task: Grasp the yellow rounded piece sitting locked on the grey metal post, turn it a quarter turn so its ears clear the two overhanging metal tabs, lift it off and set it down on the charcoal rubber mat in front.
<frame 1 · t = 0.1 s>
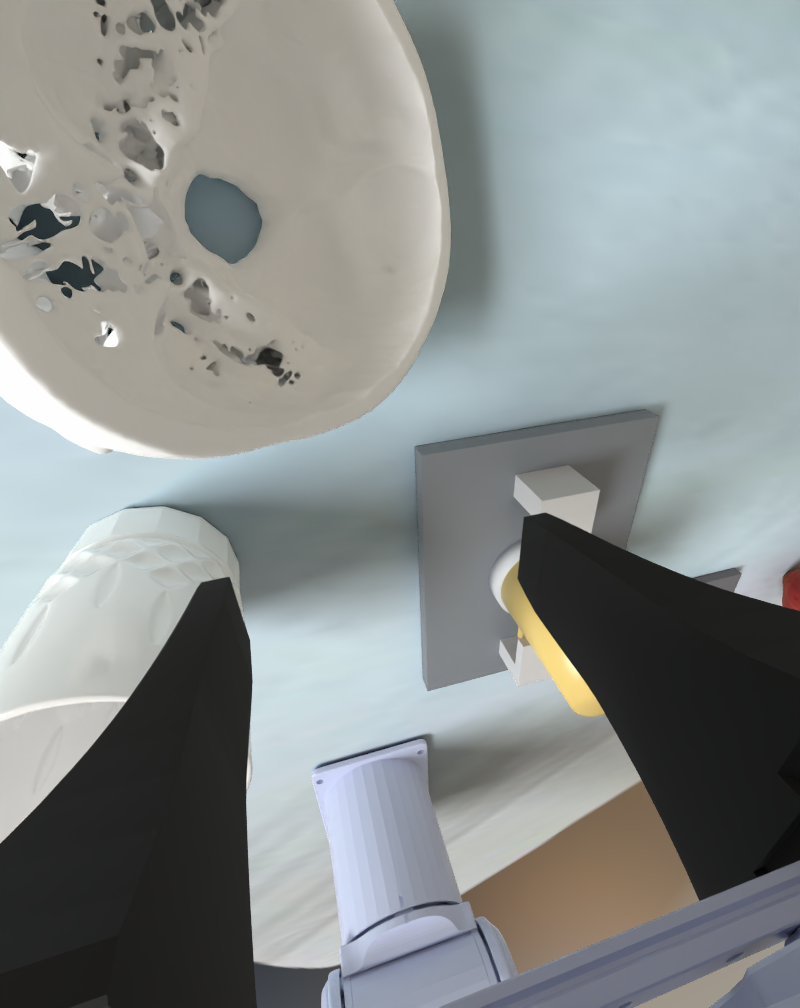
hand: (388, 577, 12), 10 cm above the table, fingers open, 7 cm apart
white cup: (160, 566, 21), on the table
post base: (521, 559, 27), on the table
skull bowl: (195, 224, 15), on the table
mat: (662, 629, 34), on the table
yellow rounded piece: (538, 581, 25), point 2 cm above the table, touching post base
onion: (784, 572, 35), on the table
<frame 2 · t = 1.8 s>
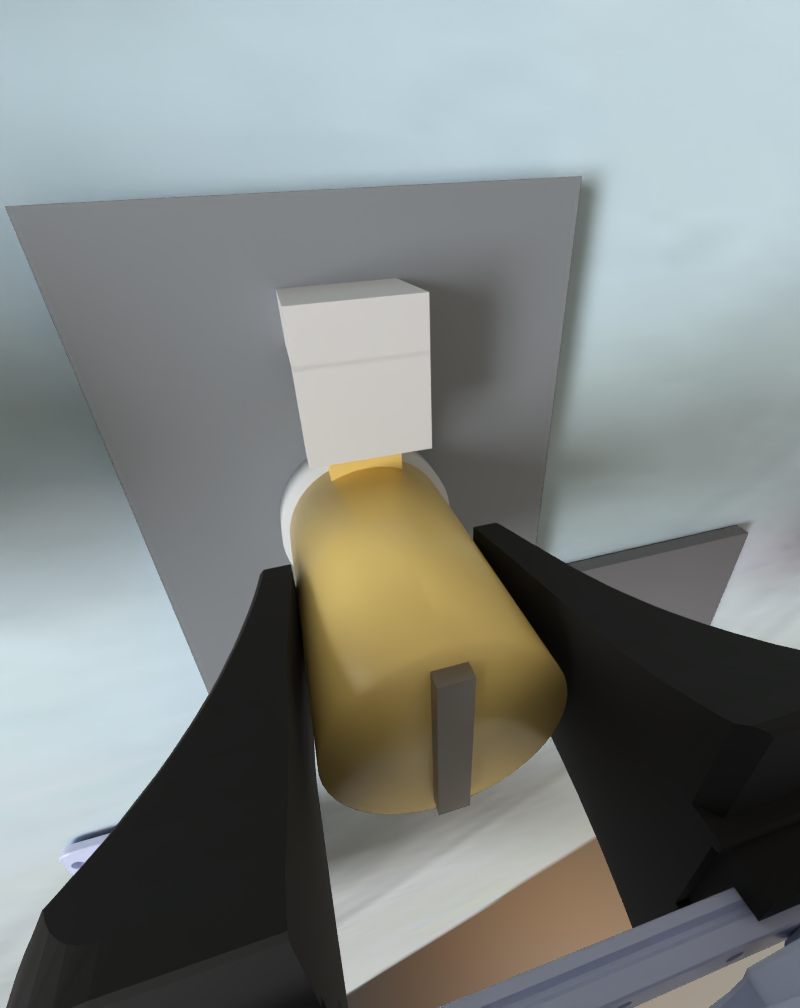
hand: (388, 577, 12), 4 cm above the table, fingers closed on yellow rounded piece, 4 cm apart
post base: (356, 493, 15), on the table
mat: (626, 621, 22), on the table
yellow rounded piece: (369, 528, 13), point 2 cm above the table, touching gripper, post base
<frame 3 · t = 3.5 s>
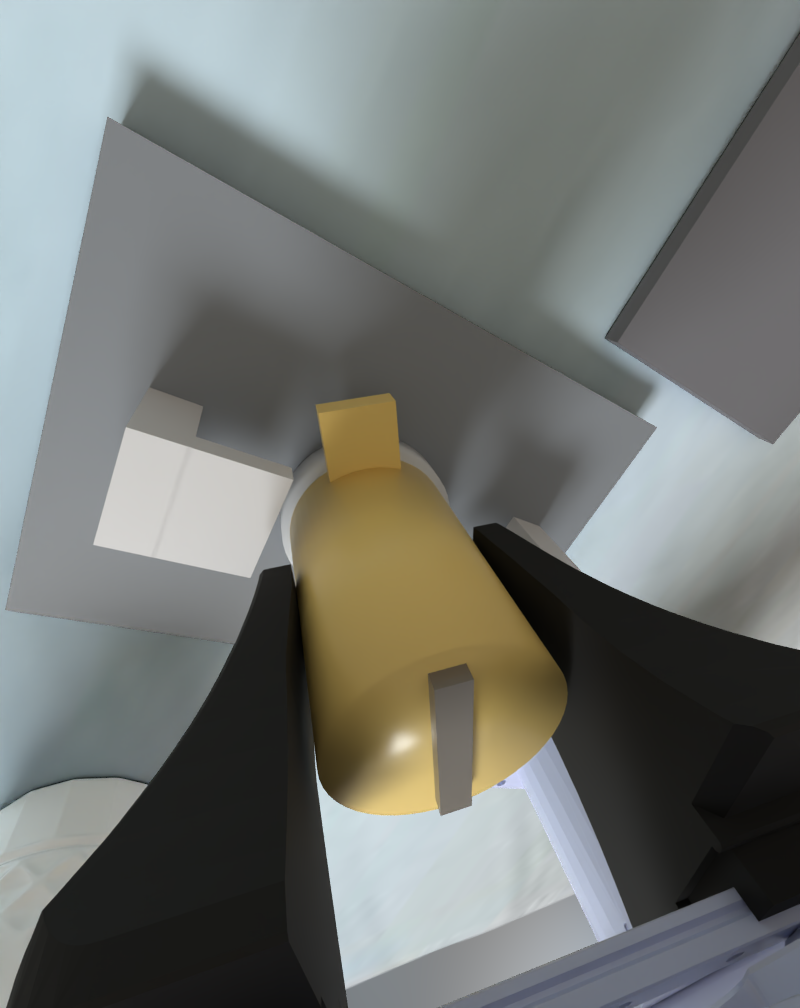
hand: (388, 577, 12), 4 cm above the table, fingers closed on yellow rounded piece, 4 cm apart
white cup: (90, 819, 20), on the table
post base: (356, 493, 15), on the table
mat: (786, 264, 15), on the table
yellow rounded piece: (369, 528, 13), point 2 cm above the table, touching gripper
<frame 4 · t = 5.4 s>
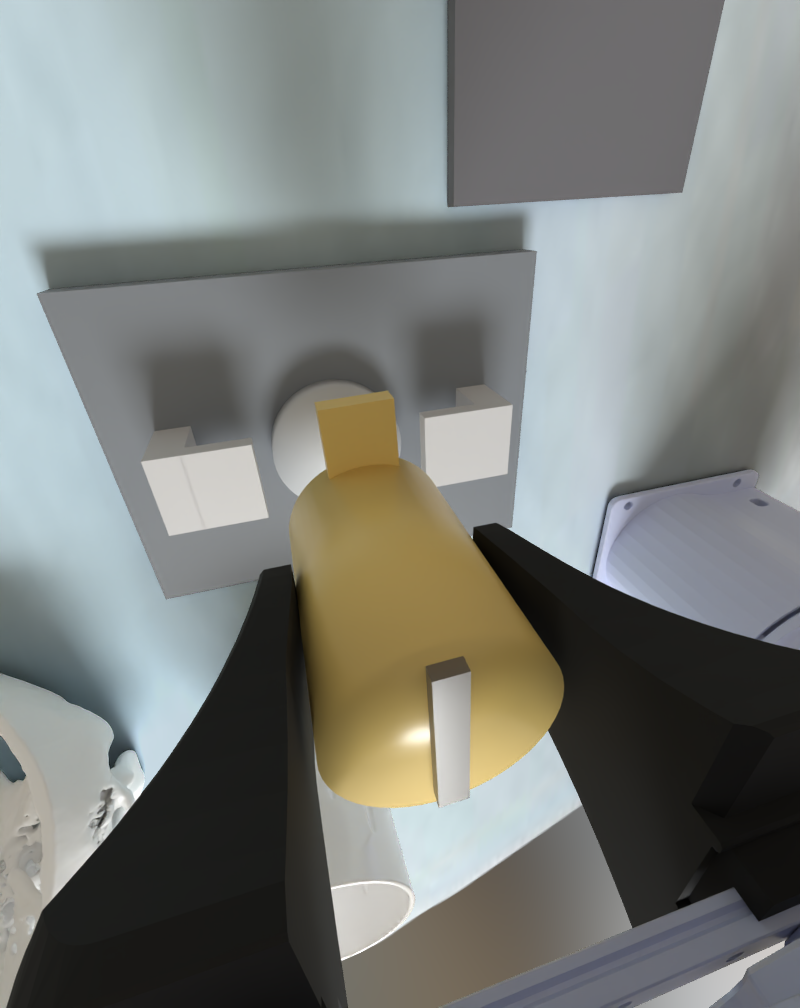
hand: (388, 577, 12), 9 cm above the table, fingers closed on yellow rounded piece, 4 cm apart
white cup: (303, 719, 28), on the table
post base: (331, 430, 19), on the table
skull bowl: (34, 737, 24), on the table
mat: (583, 28, 15), on the table
yellow rounded piece: (368, 525, 13), point 7 cm above the table, touching gripper
when the fingers open (3 cm above the table, at t = 8.3 s): yellow rounded piece stays where it is, resting on mat.
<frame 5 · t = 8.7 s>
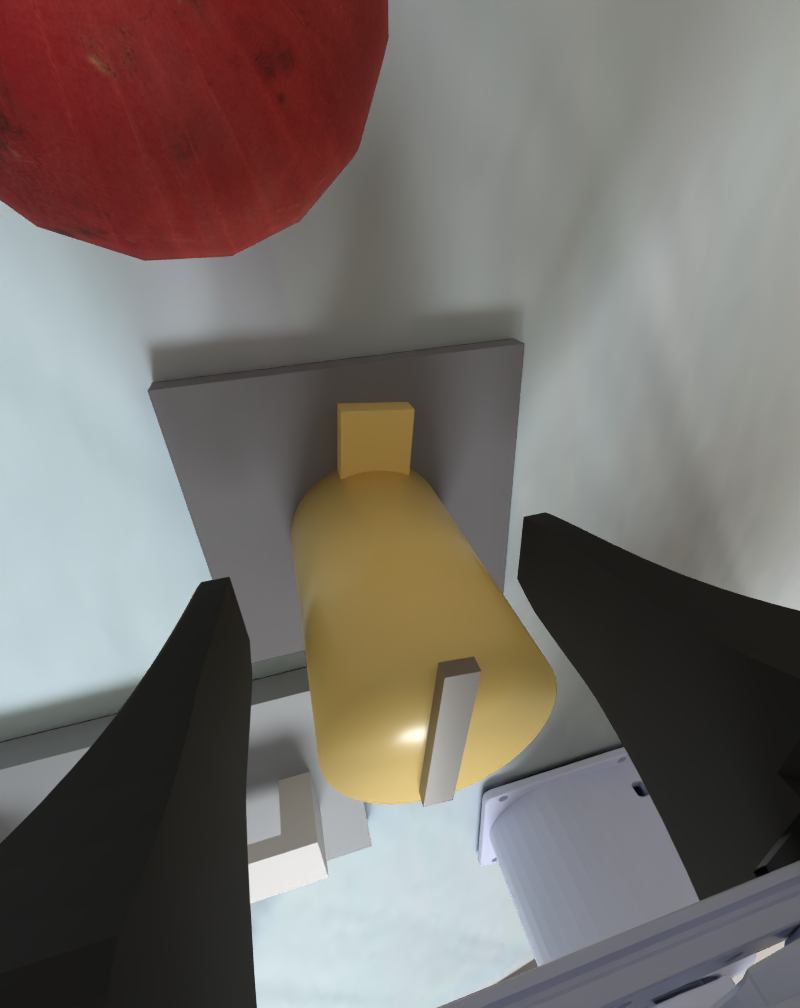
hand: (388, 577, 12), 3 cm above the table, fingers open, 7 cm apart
post base: (154, 812, 19), on the table
mat: (363, 511, 14), on the table
yellow rounded piece: (368, 529, 14), point 1 cm above the table, touching mat
onion: (172, 63, 9), on the table
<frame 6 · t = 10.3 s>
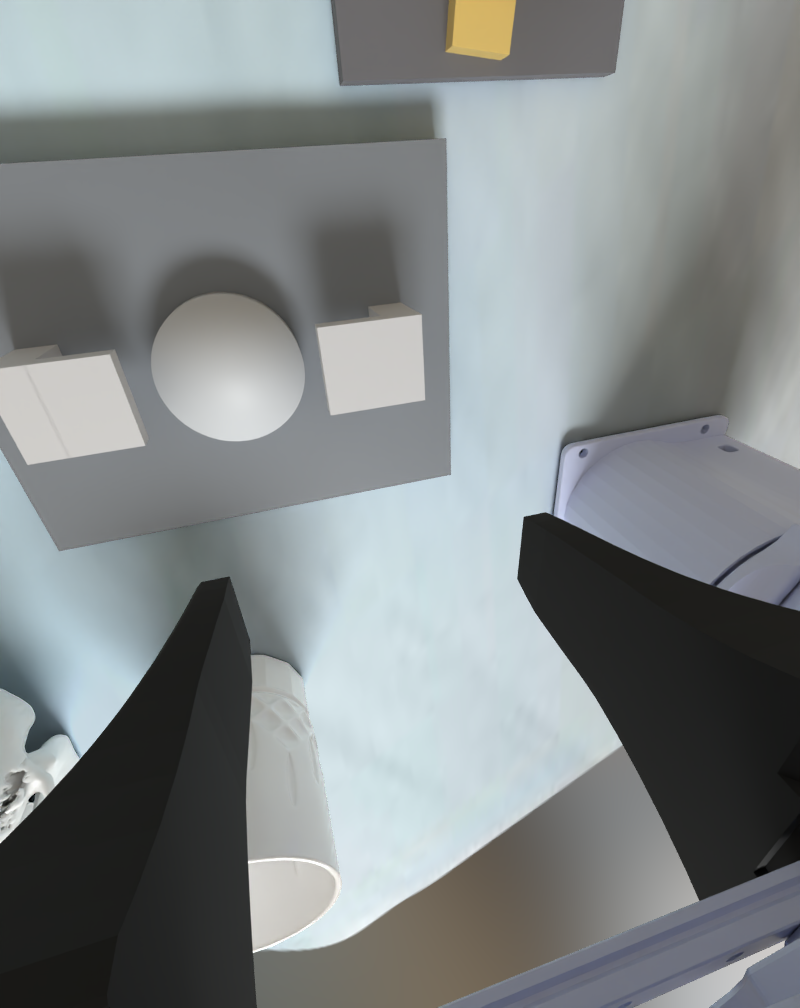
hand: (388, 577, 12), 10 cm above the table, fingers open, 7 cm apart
white cup: (242, 692, 26), on the table
post base: (233, 359, 17), on the table
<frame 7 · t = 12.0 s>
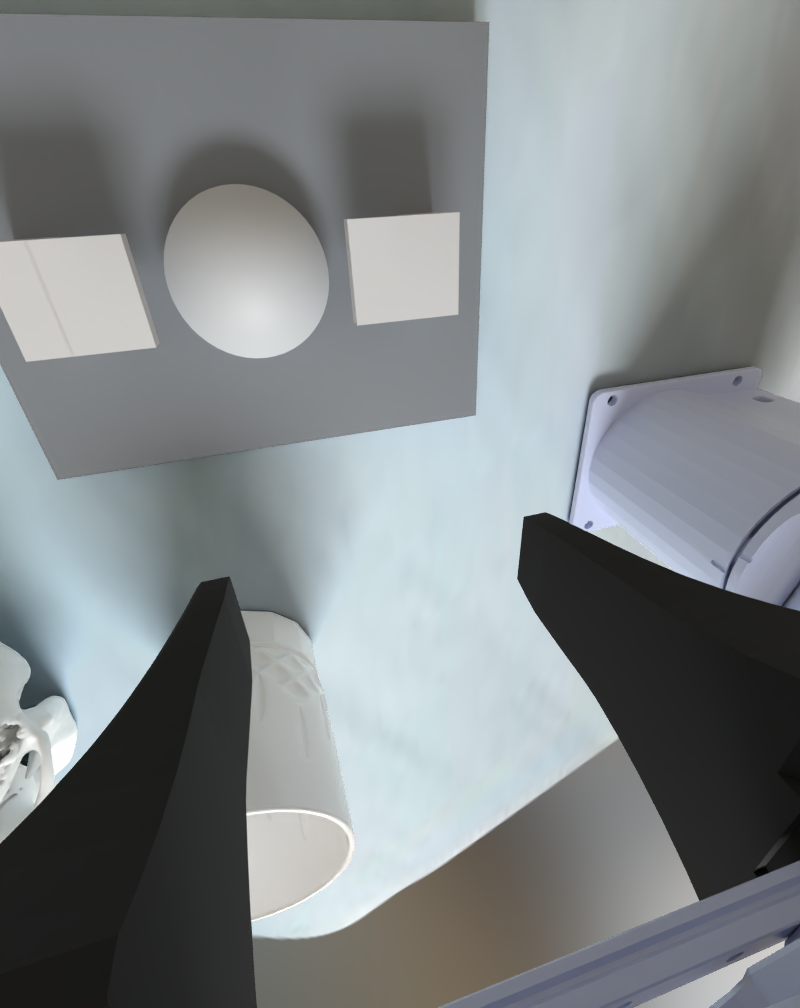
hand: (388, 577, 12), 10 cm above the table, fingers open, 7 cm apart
white cup: (247, 654, 25), on the table
post base: (250, 272, 16), on the table
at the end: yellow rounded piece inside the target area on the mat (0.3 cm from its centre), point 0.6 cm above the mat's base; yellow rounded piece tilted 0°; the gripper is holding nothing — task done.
